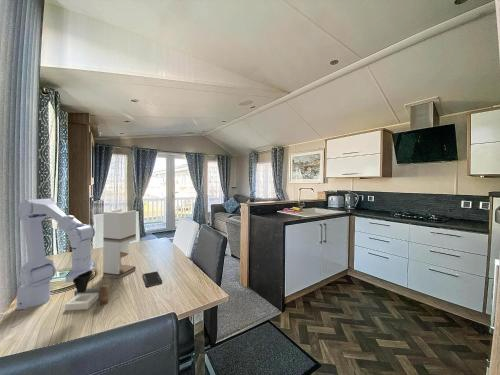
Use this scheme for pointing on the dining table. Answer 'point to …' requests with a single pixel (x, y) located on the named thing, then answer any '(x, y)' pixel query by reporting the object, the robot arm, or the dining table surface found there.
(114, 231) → the white tower
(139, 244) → the dining table surface
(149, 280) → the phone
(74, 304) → the holed block
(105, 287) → the dowel
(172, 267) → the dining table surface
